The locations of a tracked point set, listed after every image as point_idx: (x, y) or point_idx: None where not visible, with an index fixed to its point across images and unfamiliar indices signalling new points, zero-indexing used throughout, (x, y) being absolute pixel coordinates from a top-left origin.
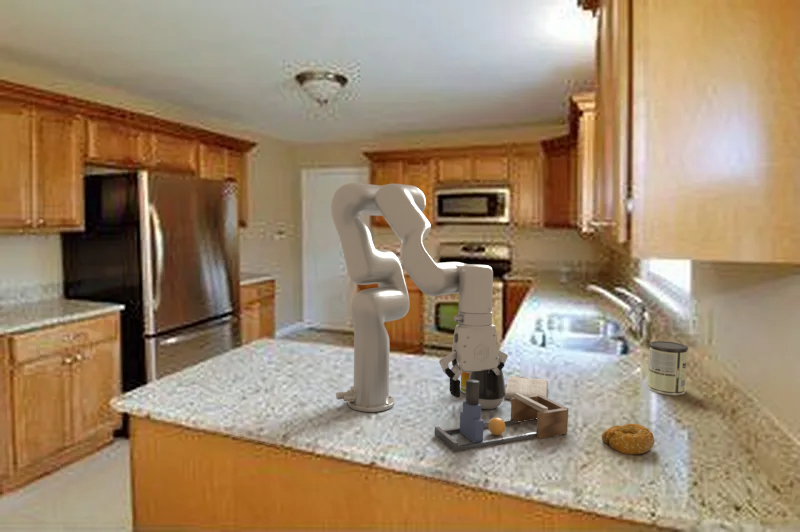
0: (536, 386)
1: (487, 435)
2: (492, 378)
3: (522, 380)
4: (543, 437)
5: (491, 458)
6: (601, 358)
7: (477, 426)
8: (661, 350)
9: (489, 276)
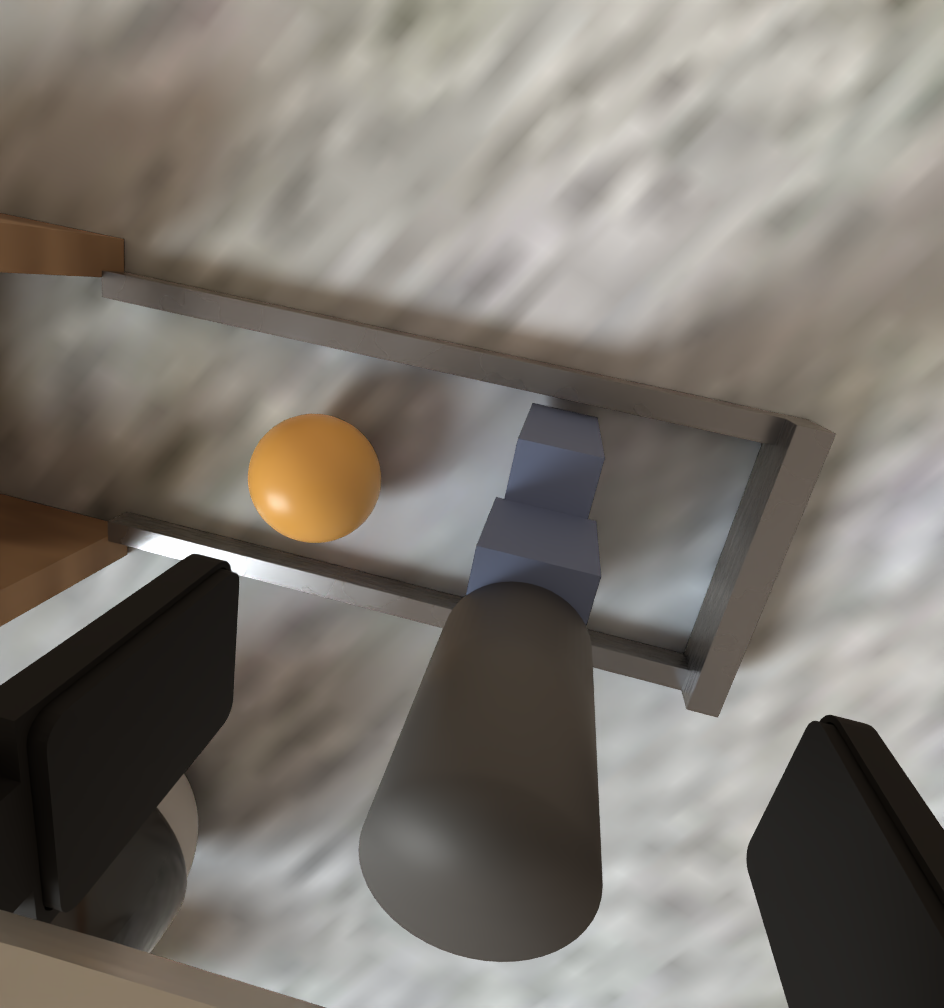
0: None
1: (402, 486)
2: (95, 736)
3: None
4: (87, 231)
5: (657, 182)
6: None
7: (585, 441)
8: None
9: None
